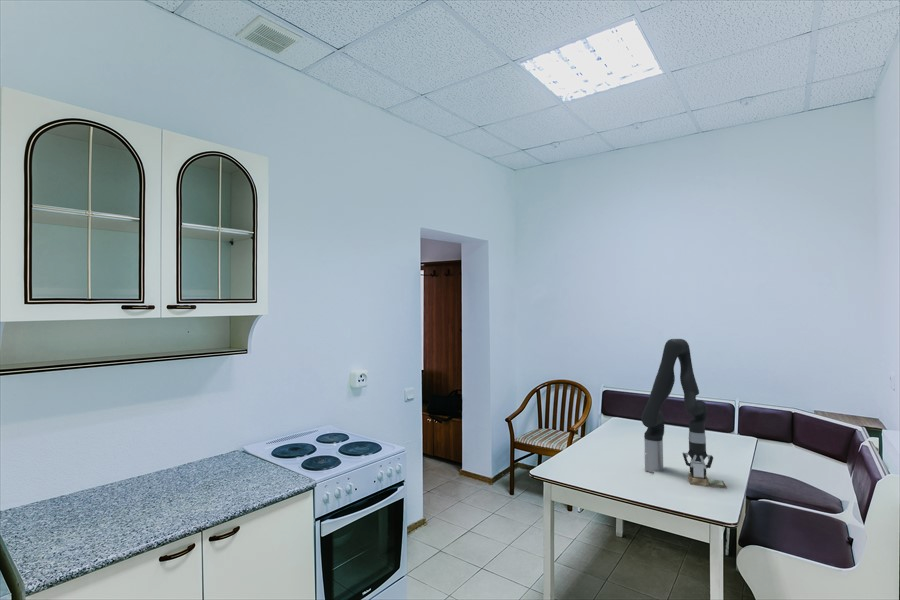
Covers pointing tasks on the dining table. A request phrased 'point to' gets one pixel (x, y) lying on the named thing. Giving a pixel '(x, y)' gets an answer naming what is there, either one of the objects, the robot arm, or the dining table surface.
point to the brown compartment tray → (706, 482)
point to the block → (698, 470)
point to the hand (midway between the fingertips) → (698, 474)
